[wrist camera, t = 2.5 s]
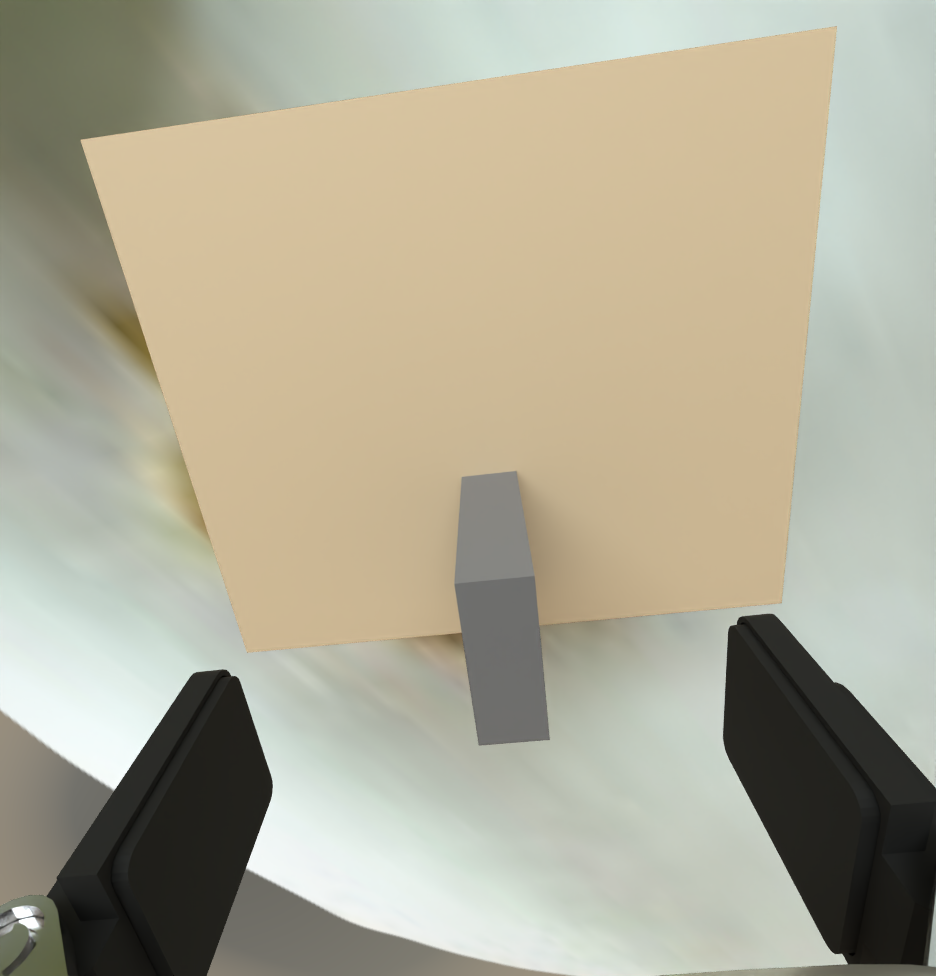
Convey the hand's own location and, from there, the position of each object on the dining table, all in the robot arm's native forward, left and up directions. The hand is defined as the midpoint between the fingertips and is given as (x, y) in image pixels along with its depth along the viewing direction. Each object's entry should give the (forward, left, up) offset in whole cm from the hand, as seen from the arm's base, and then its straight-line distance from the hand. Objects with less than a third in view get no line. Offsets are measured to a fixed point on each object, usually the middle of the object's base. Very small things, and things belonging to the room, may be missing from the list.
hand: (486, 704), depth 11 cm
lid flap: (0, -4, -7) cm, 8 cm away
